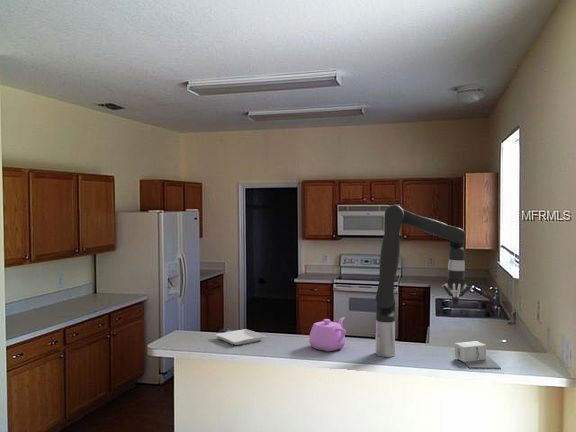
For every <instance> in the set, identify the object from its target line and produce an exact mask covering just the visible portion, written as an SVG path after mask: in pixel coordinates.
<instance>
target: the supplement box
mask: <svg viewBox="0 0 576 432" xmlns="http://www.w3.org/2000/svg"><path fill="white" fill-rule="evenodd" d="M486 356H487V344H486V343H482V342H480V341H478V340H472V341H465V342H464V341H463V342H455V343H454V358H455V359H458V360H459V361H461V362H463V363H464V362H468V361H477V360H486Z"/></svg>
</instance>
